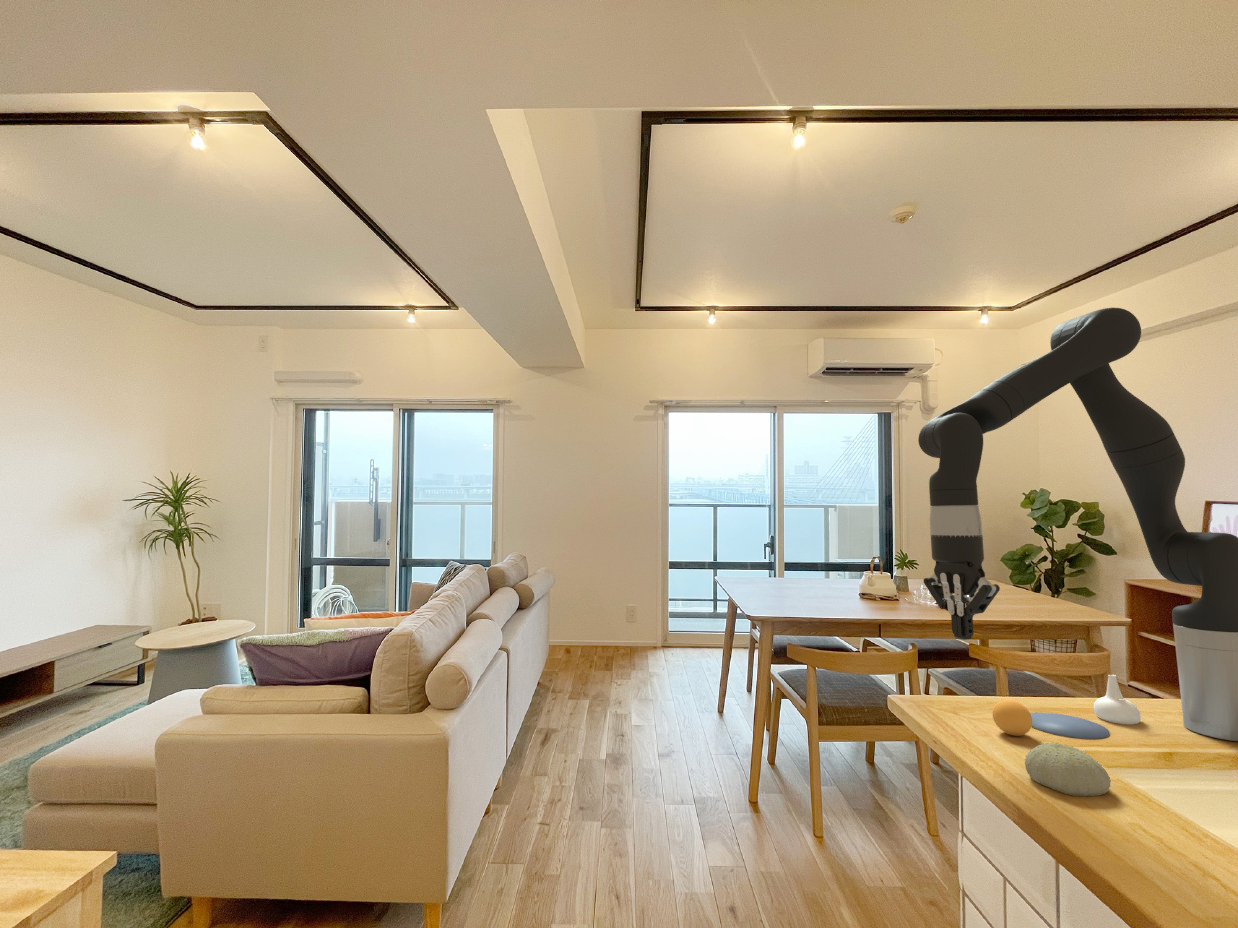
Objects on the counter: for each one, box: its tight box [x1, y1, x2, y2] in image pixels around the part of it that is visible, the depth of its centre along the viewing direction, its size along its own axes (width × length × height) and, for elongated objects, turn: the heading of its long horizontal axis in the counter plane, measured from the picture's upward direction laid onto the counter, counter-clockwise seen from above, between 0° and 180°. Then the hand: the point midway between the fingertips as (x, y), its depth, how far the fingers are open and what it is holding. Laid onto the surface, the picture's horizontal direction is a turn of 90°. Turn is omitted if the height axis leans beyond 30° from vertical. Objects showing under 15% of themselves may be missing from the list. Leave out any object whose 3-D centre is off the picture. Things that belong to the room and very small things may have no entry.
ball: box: [991, 699, 1033, 737], centre depth 94 cm, size 6×6×6 cm
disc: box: [1030, 712, 1111, 740], centre depth 98 cm, size 12×12×1 cm
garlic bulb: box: [1093, 674, 1142, 726], centre depth 101 cm, size 6×6×8 cm
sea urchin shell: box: [1024, 742, 1112, 797], centre depth 77 cm, size 9×8×8 cm
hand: (963, 638), depth 93 cm, fingers closed
